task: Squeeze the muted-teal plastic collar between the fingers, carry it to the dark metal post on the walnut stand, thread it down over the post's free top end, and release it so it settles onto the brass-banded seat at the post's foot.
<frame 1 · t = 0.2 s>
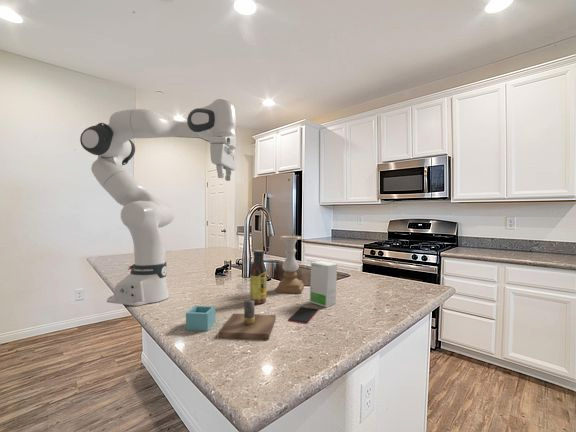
hand: (224, 179, 108), 47 cm above the table, fingers open, 8 cm apart
sauce bottle: (258, 302, 108), on the table
teal collar: (201, 325, 86), on the table
skincare box: (323, 303, 107), on the table
smartphone: (303, 316, 95), on the table
post stand: (249, 327, 84), on the table
candle holder: (290, 290, 125), on the table
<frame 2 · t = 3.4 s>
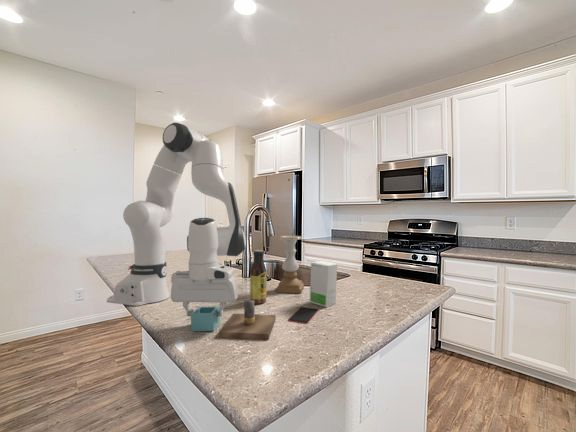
hand: (205, 315, 86), 3 cm above the table, fingers open, 8 cm apart
teal collar: (206, 326, 85), on the table
everything else where it was.
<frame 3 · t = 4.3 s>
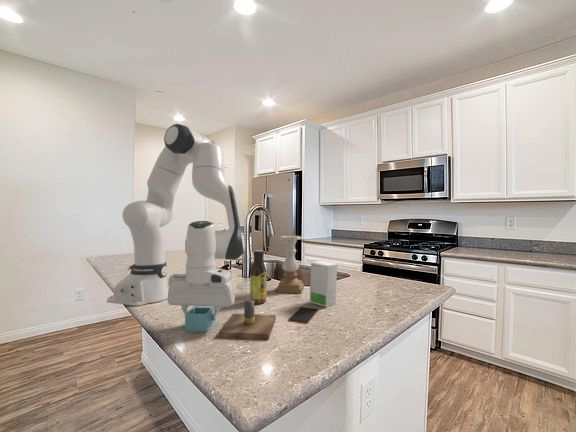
hand: (201, 319, 86), 2 cm above the table, fingers closed on teal collar, 7 cm apart
teal collar: (200, 327, 85), on the table, touching gripper
everything else where it was.
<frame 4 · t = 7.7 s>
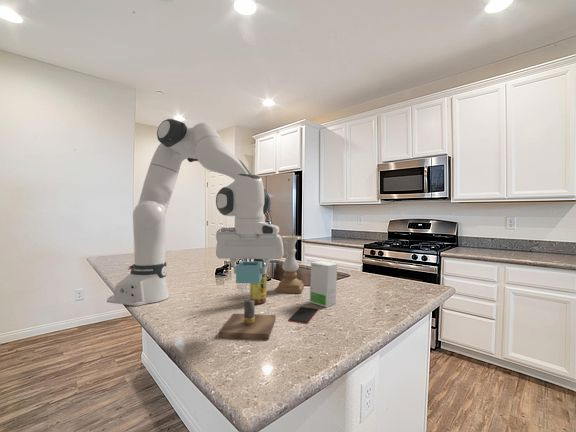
hand: (250, 273, 84), 16 cm above the table, fingers closed on teal collar, 7 cm apart
teal collar: (249, 280, 83), point 15 cm above the table, touching gripper
everything else where it was.
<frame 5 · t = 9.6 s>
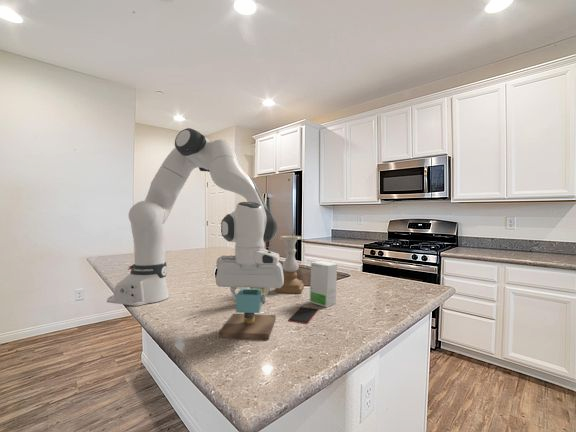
hand: (250, 301, 84), 8 cm above the table, fingers closed on teal collar, 7 cm apart
teal collar: (249, 308, 84), point 6 cm above the table, touching gripper
everything else where it was.
when the fingers open (5 cm above the table, at t = 11.3 s): teal collar drops 1 cm, resting on post stand.
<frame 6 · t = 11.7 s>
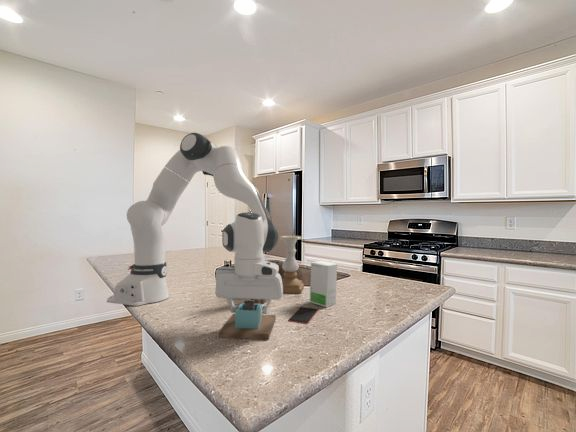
hand: (249, 312, 84), 5 cm above the table, fingers open, 8 cm apart
teal collar: (249, 323, 84), point 1 cm above the table, touching post stand
everything else where it was.
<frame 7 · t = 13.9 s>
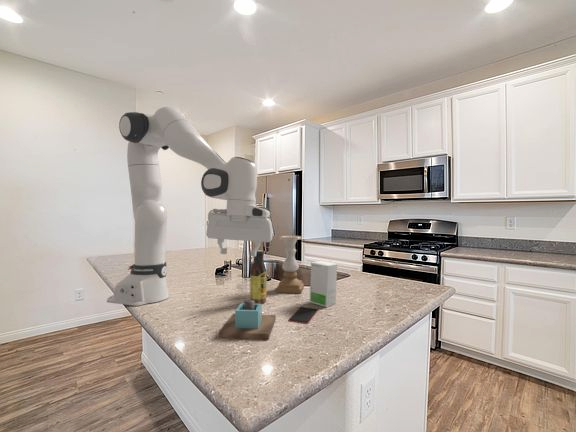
hand: (238, 255, 86), 22 cm above the table, fingers open, 8 cm apart
nothing on the table moved.
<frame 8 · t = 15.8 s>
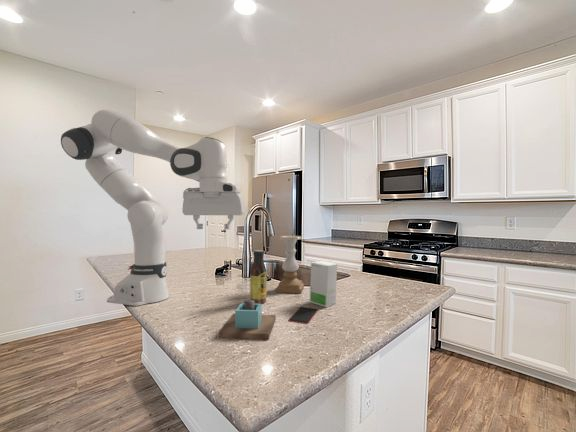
hand: (213, 229, 93), 29 cm above the table, fingers open, 8 cm apart
nothing on the table moved.
at the end: teal collar 0.6 cm from the post stand (horizontally); teal collar point 1.5 cm above the table; the gripper is holding nothing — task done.
